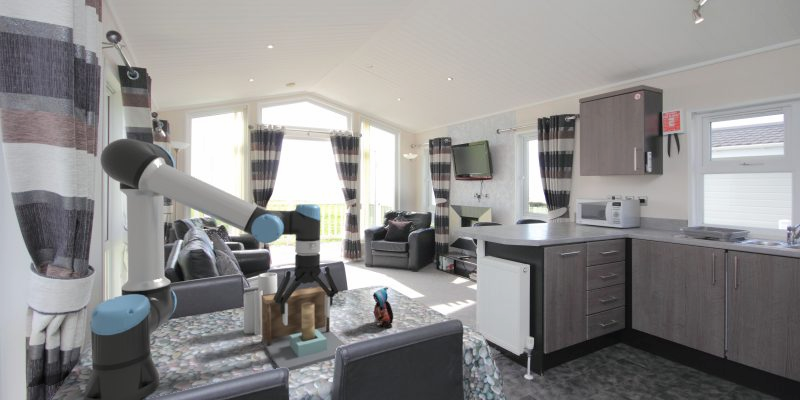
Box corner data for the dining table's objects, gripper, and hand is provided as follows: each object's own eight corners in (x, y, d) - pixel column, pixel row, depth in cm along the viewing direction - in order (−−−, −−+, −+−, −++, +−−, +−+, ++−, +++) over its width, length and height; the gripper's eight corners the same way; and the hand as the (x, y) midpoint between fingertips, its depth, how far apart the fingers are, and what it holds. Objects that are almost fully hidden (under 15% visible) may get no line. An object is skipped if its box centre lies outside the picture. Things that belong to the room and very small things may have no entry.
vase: (274, 323, 136) (274, 271, 135) (279, 330, 130) (279, 275, 129) (242, 330, 129) (242, 275, 129) (246, 337, 123) (246, 280, 123)
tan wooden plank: (266, 349, 114) (266, 300, 114) (262, 342, 120) (261, 295, 119) (331, 334, 126) (331, 289, 126) (324, 328, 132) (324, 285, 131)
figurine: (367, 323, 136) (367, 284, 136) (383, 319, 140) (383, 282, 140) (379, 332, 128) (380, 291, 127) (396, 328, 132) (396, 288, 131)
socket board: (280, 373, 100) (280, 357, 100) (261, 341, 120) (261, 328, 120) (351, 353, 112) (351, 339, 112) (323, 327, 132) (323, 315, 132)
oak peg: (304, 351, 111) (303, 307, 110) (300, 347, 114) (299, 303, 113) (316, 348, 113) (316, 305, 112) (312, 344, 116) (312, 301, 116)
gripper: (269, 259, 102) (268, 331, 103) (348, 252, 116) (347, 316, 117) (263, 254, 109) (263, 323, 109) (339, 248, 122) (338, 309, 123)
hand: (306, 319), depth 113 cm, fingers open, 13 cm apart
